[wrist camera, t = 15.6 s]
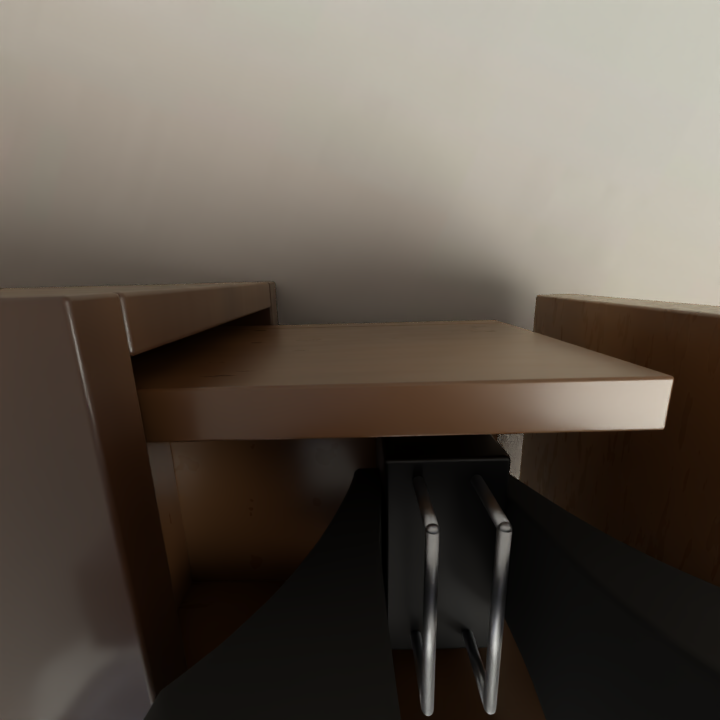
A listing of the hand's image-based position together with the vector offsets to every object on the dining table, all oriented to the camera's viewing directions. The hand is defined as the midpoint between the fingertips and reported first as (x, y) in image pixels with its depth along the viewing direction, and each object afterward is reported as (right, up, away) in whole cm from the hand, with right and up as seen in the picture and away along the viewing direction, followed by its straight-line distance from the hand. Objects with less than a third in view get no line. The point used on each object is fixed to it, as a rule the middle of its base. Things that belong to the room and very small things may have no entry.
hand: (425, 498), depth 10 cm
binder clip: (0, 0, +1) cm, 1 cm away
